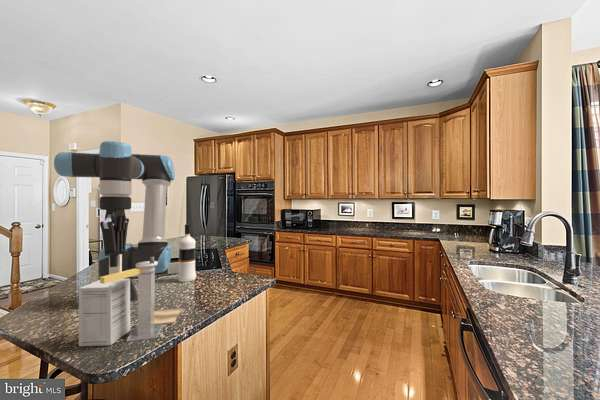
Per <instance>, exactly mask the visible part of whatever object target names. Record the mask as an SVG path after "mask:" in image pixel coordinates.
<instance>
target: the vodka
mask: <svg viewBox="0 0 600 400" xmlns="http://www.w3.org/2000/svg"><path fill="white" fill-rule="evenodd" d="M196 243H197V242H196V240H195V238H193V237H192V236H191V224H189V223H187V224H184V236H183V237H181V238H180V239H179V240H178V273H177V277H176V278H177V281H178V282H180V283H189V282H190V283H191V282H193V281H194V280H196V279H197V272H196V245H197V244H196Z"/></svg>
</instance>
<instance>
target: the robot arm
mask: <svg viewBox="0 0 600 400" xmlns="http://www.w3.org/2000/svg"><path fill="white" fill-rule="evenodd" d="M53 167H54V170H55V171H56V173H57V174H58V175H59V176H60V177H66V178H67V177H68V178H99V184H98V185H97V187H98V188H99V194H100V195H101V196H100V197H99V200H98V201H99V204H98V205H99V209H100V210H102V211H105V216H104V221H100V222H99V226H100V229H101V233H102V234H101V235H102V240H103V241H102V242H103V248H102V249H100V250H99V252H98V259H97V262H98V269H97V272H98V275H97V276H98V279H97V281H98V280H100V277H102V276H106V275H110V274H114V273H118V272H122V271H126V270H130V269H134V268H136V263H139V262H144V261H150V257H154V261H157V262H158V265H156V266H155V274H157V273H159V274H160V273H164V272H166V271H167V270H168V268H169V266H170V264H171V263H170V262H171V258H172V252H173V251H172V249H173V248H172V247H173V246H171V245H170V244H169V240H167V239H166V238H165V235H166V234H165V233H166V232H165V231H166V215H167V214H166V211H167V190H168V187H169V186H171V185H172V184H171V183H172V182H173V181H175V177H176V175H175V174H176V173H175V167H174V162H173V159H172V157H170V156H169V155H161V154H140V153H133V151H132V146H131V145H130V144H129V143H126V142H121V141H115V140H114V141H113V140H111V141H107V140H106V141H102V142H101V143H100V144H99V153H89V152H88V153H87V152H73V151H72V152H71V151H69V152H58V153H57V154H56V155H55V157H54V159H53ZM132 180H141V183H142V184H143V185H144V186H145V190H144V192H145V195H144V209H143V210H144V211H143V227H142V237H141V239H140V240H139V241H138V244H137V246H134V245H133V244H132V243H127V237H128V235H127V234H128V228H129V222H130V219H129V218H127V216H126V210H131V209H132V197H130V196H131V195H132V194H133V193H132V186H133V185H132ZM171 181H172V182H171ZM123 279H130V302H132V301H134V300H136V299H137V298H138V290H137V289H136V287H135V284H134V282H133V276H131V277H127V278H123Z"/></svg>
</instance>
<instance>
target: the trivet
mask: <svg viewBox="0 0 600 400" xmlns="http://www.w3.org/2000/svg"><path fill="white" fill-rule="evenodd" d="M181 311H182V307H176V308H166V309H158V310H155V309H154V325H155V324H164V326H165V325H174V324H175V322H176V321H177V319H178V317H179V315H180V313H181ZM137 326H138V321H137V322H136V324H135V325H134V329H135V328H136V327H137Z"/></svg>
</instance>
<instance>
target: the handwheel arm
mask: <svg viewBox="0 0 600 400" xmlns="http://www.w3.org/2000/svg"><path fill="white" fill-rule="evenodd" d="M156 265H158V262H157V261H154V257H150V261H144V262H139V263H136V268H134V269H130V270H126V271H122V272H118V273H114V274H110V275H106V276H102V277H100V283H103V284H105V283H109V282H112V281H116V280H120V279H123V278H127V277H131V276H132V277H134V276H138V275H139V274H147V273H152V272H154V271H155V266H156Z"/></svg>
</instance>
